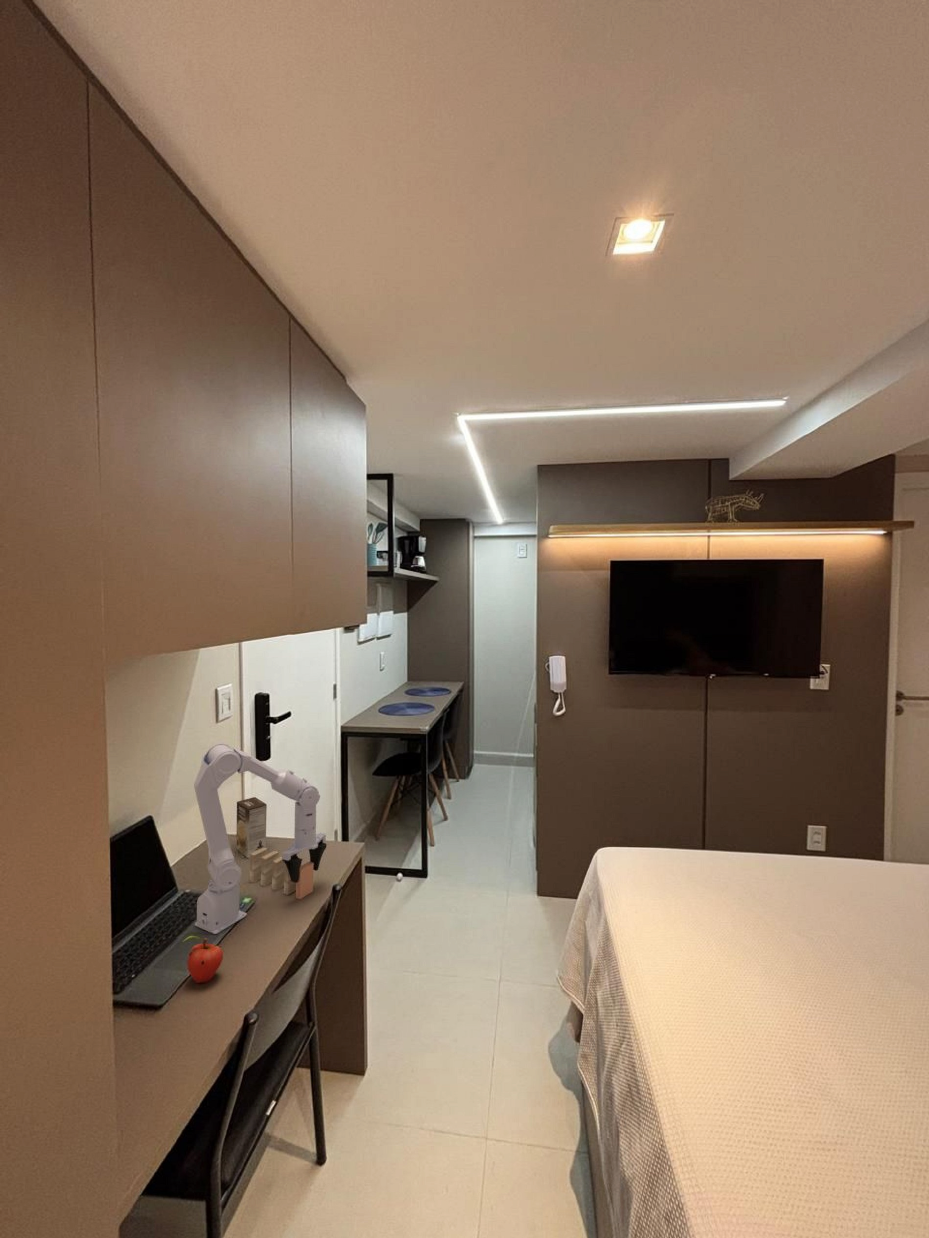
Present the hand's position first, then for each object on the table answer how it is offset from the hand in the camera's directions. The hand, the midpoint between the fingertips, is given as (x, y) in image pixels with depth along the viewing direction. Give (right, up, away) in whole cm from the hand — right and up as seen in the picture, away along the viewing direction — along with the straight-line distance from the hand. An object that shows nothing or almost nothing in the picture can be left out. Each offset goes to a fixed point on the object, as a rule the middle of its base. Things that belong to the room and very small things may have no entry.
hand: (304, 875), depth 149 cm
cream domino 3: (-8, -5, +4) cm, 10 cm away
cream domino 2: (-12, -5, +6) cm, 15 cm away
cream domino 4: (-4, -5, +2) cm, 7 cm away
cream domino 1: (-16, -5, +8) cm, 19 cm away
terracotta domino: (0, -5, 0) cm, 5 cm away
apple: (-11, -6, -35) cm, 37 cm away
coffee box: (-25, -5, +26) cm, 36 cm away
